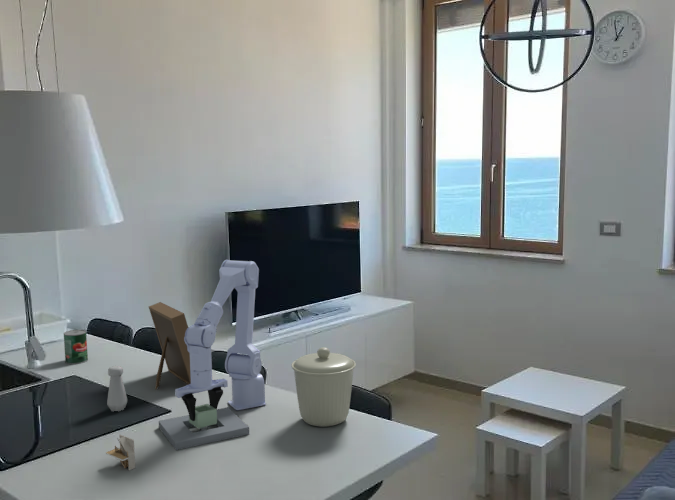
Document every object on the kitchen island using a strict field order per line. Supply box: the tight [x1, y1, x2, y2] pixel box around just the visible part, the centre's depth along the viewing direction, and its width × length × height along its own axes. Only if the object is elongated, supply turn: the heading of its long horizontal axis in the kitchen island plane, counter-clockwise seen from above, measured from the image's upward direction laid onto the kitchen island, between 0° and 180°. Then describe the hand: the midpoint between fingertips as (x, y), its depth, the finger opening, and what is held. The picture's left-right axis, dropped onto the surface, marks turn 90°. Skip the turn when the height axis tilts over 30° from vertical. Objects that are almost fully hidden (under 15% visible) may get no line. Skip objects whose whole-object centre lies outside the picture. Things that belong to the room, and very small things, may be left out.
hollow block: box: [189, 403, 218, 429], centre depth 184 cm, size 6×6×4 cm
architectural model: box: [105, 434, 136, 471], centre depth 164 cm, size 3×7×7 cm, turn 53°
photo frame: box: [148, 301, 191, 391], centre depth 226 cm, size 15×22×25 cm
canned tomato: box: [63, 329, 89, 365], centre depth 251 cm, size 8×8×11 cm
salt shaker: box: [106, 365, 128, 412], centre depth 201 cm, size 6×6×13 cm
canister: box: [291, 346, 357, 427], centre depth 190 cm, size 18×18×21 cm
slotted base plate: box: [158, 407, 250, 451], centre depth 185 cm, size 20×17×5 cm
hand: (203, 417), depth 184 cm, fingers closed on hollow block, 5 cm apart
